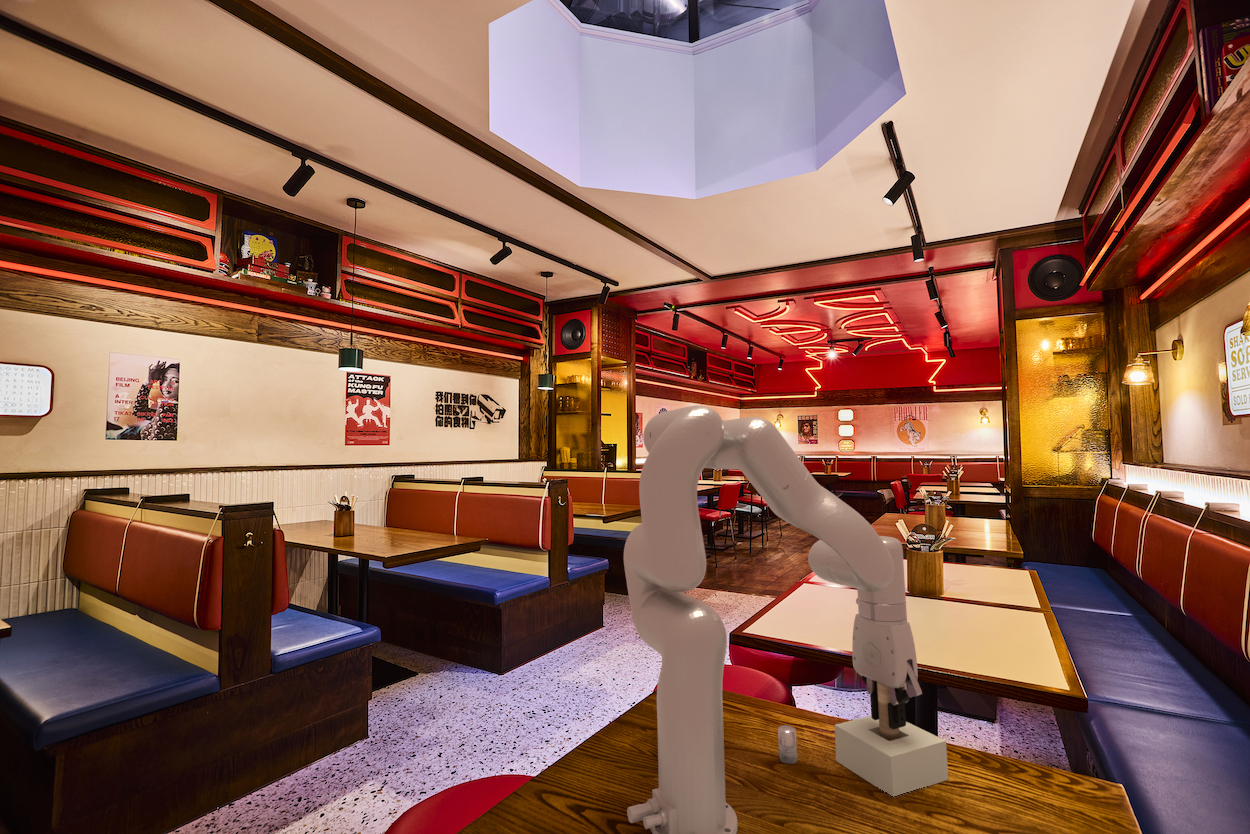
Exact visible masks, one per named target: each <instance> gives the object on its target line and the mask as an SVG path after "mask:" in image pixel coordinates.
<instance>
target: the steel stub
mask: <svg viewBox="0 0 1250 834" xmlns="http://www.w3.org/2000/svg"><path fill="white" fill-rule="evenodd" d="M777 732H778V733H777V734H778V735H777V736H778V760H780V762H782V763H784V764H788V765H792V764H796V763H797V762H798V753H797V752H798V751H797V750H798V749H797V729H796V728H795V727H794V726H792V725H791V726H790V725H786V724H784V725H779V726H778V727H777Z"/></svg>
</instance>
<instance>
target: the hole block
mask: <svg viewBox="0 0 1250 834" xmlns="http://www.w3.org/2000/svg"><path fill="white" fill-rule="evenodd" d="M899 736H900V738H899V739H895V740H892V741H888V740H886V739H884V738H883V737H881V736H880V727H879V719H878V720H874V719H872V717H871V715H868V716H865V717H860V718H856V719H853V720H848V721H844V722H841V723H835V724H834V740H835V741H834V744H835V761H836V762H837V763H838V764H839V765H840V764H841V765H842V766H843V767H845V768H846V769H848V770H849V771H851V772H853V773H854V774H856V775H858V776H859V777H860V778H862V779H863V780H864V781H866V782H868V783H869V784H871V785H873V786H874V787H875V788H877V787H878V788H877V789H878V790H880V789H881V790H880V791H882V790H883V791H884V793H885V792H887V793H888V794H890V795H891V796H893V797H894V796H897V795H900V794H903V793H906V792H909V793H911V792H910V791H913V790H916V789H919V788H920V789H919V790H922V789H924V788H923V787H925V788H927V786H928V787H930V786H933V785H936V784H939V783H943V782H945V781H949V768H948V751H947V750H948V749H947V741H946V739H943V738H941V737H939V736H937V735H935V734H933V733H931V732H929V731H926V730H925V729H922V728H920V727H919V726H916V725H914V724H912V723H910V722H908V721H906V726H904V727H901V728H899ZM921 788H922V789H921ZM883 791H882V792H883ZM916 791H917V790H916ZM913 792H914V791H913ZM888 794H887V795H888ZM906 794H907V793H906ZM890 795H889V796H890ZM903 795H904V794H903ZM891 796H890V797H891ZM900 796H901V795H900ZM893 797H892V798H893ZM897 797H898V796H897ZM894 798H895V797H894Z"/></svg>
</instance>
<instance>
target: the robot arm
mask: <svg viewBox="0 0 1250 834" xmlns="http://www.w3.org/2000/svg"><path fill="white" fill-rule="evenodd" d="M642 435H643V436H642V438H643V439H642V440H643V444H644V447H645V449H646V451H647V452H648V454H647V457H646V459H645V461H644V464H643V465H642V469H641V472H640V478H639V483H638V485H639V487H638V489H639V490H638V494H639V495H638V496H639V506H640V515H641V516H640V518H641V523H639V524H638V525H637V526H635V527H634V528H633V529H632V530H631V532H630V533H629V534H628V536H627V538H626V540H625V544H624V548H623V566H624V573H625V579H626V587H627V592H628V599H629V606H630V612H631V618H632V623H633V626H634V628H635V631H636V633H637V634H638V636H639V637H640V639H641V640H642V641H643V642H644V643H645V644H646V645H648V646H649V647H650V648H652V649H653V650H655V651H656V652H657V653H658V654H659V655H660V656H661V667H660V672H659V676H658V680H657V688H656V713H657V715H656V721H657V759H658V762H657V766H658V770H657V771H658V787H657V788H654V789H652V791H651V792H652V795H651V797H652V798H648V799H647V800H646V802H645V803H638V804H635V805H631V806H628V807H627V808H626V813H627V814H626V815H627V819H628V822H629V823H631V824H634V823H637V822H642V823H643V827H644V829H645V830H648V829H649V830H650V832H651V833H652V834H737V832H738V827H739V825H738V817H737V814H736V811H735V810H734V809H733V807H732V806H731V805H730V804H729V803H727V801H726V799H727V798H726V772H725V769H726V767H725V744H724V743H725V742H724V741H725V739H724V738H725V737H724V736H725V735H724V710H723V709H724V707H723V703H724V702H723V682H724V681H723V679H724V678H723V676H724V668H725V662H726V661H725V660H726V655H727V649H728V648H727V646H728V637H727V636H728V635H727V630H726V626H725V624H724V621H723V619H722V618H721V616H720V615H719V614H718V612H717V611H716V610H715V609H714V608H713V607H712V606H710V605H709V604H708V603H705V602H704V601H702V600H700V599H698V598H695V597H694V596H690V595H689V594H685V592H688V591H689V592H690V591H692V590H694V589H696V588H697V587H698V586H699V585H700V584H701V583H702V582H703V580H704V578H705V575H706V573H707V556H706V548H705V543H704V537H703V532H702V523H701V518H700V512H699V511H700V510H699V503H698V502H699V501H698V485H699V481H700V477H701V474H702V472H703V470H704V469H713V470H714V469H716V470H717V469H718V470H739V471H740V472H742V473H743V475H744V476H745V477H746V479H747V480H748V482H749V483H750V484H751V485H752V487H753V488H754V489H755V490H756V491H757V493H758V495H760V497H761V498H762V499H763V501H764V502H765V504H767V506H768V508H770V509H769V510H771V511H772V512H773V514H774V515H776V516H777V517H778V518H780V519H781V520H783V521H784V522H787V523H788V524H790V525H791V526H793V527H796V528H797V529H799V530H800V529H801V530H803V531H804V532H805V533H809V534H810V535H812V536H814V537H815V538H817V539H818V540H817V541H815V543H814V544H812V546H811V547H810V549H809V551H808V555H807V559H808V561H807V563H808V565H809V568H810V569H811V571H812V572H813V573H814V574H815V575H816V576H817V577H818V578H820V579H822V580H823V581H826V582H830V583H832V584H837V585H840V586H845V587H850V588H853V589H857V598H856V599H855V603H856V605H857V609H858V610H857V611H858V613H856V614H855V616H854V621H853V628H852V642H851V643H852V652H851V653H852V654H851V655H852V666H853V669H854V670H855V672H856V673H857V674H858V675H859V676H860V678H861V679H862V681H863V683H864V684H865V686H866V692H867V693H868V694H869V696H870V697H869V698H870V712H871V715H870V716H871V717H872V719H874V720H878V719H879V710H878V693H877V682H879V683H881V684H884V685H886V686H888V687H889V694H890V701H891V703H888V719H889V727H890V728H891V729H897V728H901V727H904V726H906V722H907V717H906V716H907V715H906V704H907V703H908V702H909V700H910V699H912V697H918V696H921V695H923V692H922V689H921V687H920V683H919V682H918V677H919V675H918V661H917V653H916V647H915V641H914V634H913V631H912V628H911V624H910V622H908V616H907V615H908V614H907V611H908V610H907V601H906V600H907V599H906V584H905V583H906V582H905V567H904V566H905V565H904V551H903V544H902V543H901V541H900V540H899V539H898V538H896V537H892V536H886V535H879V534H878V533H877V531H876V530H875V529H874V527H873V526H872V525H871V524H870V522H869V521H868V520H866V518H864V516H863V515H861V514H860V513H859V512H858V511H856V510H855V509H854V508H853V507H852V506H850V505H849V504H847V503H846V502H845V501H843V499H840V498H839V497H838V496H836V495H835V494H834V493H833V492H831V491H829V490H828V489H827V488H825V487H824V486H822V485H821V484H819V482H817V480H816V479H815V478H814V477H813V475H812V474H811V473H810V471H809V470H808V469H807V467H806V466H805V464H804V463H803V462H802V460H801V459H800V458H799V456H798V455H797V454H796V452H795V451H794V449H793V448H792V447H791V445H790V444H789V443H788V442H787V440H786V439H785V437H784V436H783V435H782V433H781V432H780V431H779V430H778V428H777V427H776V426H775V425H774V424H773V423H772V422H771V421H769V420H768V419H766V418H763V417H760V416H758V417H757V416H748V417H747V416H746V417H740V418H733V419H722V417H721V415H720V414H719V413H718V412H717V410H715V409H714V408H712V407H709V406H706V405H689V406H685V407H679V408H677V409H671V410H667V411H663V412H659V413H658V414H656V415H654V416H653V417H651V418H650V419H649V420H648V422H647V423H646V425H645V427H644V430H643V434H642ZM898 691H899V692H898Z"/></svg>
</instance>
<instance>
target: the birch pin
mask: <svg viewBox="0 0 1250 834" xmlns="http://www.w3.org/2000/svg"><path fill="white" fill-rule="evenodd" d="M877 693H878V710H879V727H880V736H881V737H883V738H884V739H886V740H888V741H892V740H895V739H899V738H900V736H899V728H897V729H891V728H890V727H889V719H888V703H891V701H890V694H889V687H888V686H886V685H884V684H881V683H879V682H877Z"/></svg>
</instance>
